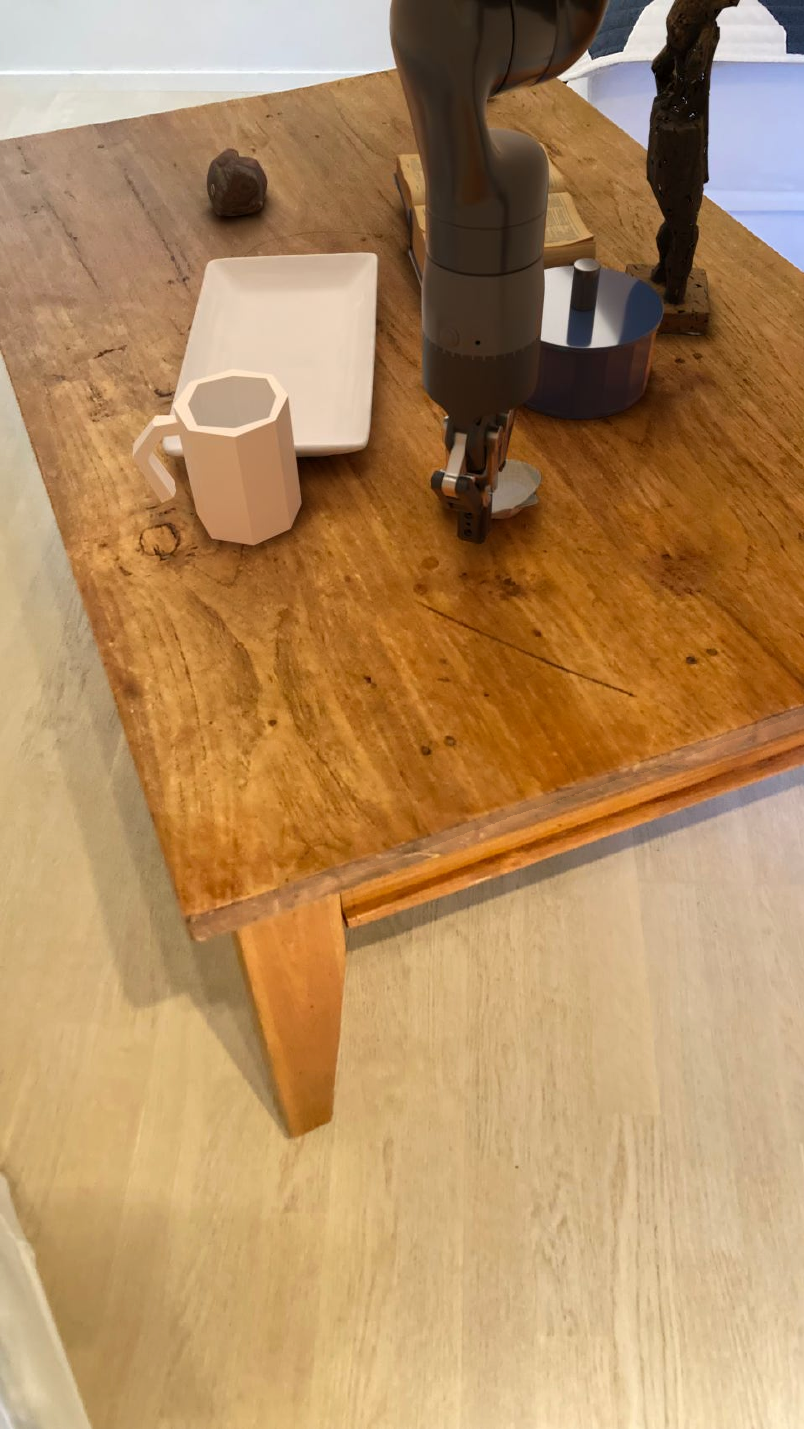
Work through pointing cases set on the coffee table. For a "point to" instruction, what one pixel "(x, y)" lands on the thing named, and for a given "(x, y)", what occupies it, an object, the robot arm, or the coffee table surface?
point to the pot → (591, 381)
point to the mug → (230, 455)
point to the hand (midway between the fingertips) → (473, 536)
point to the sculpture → (681, 160)
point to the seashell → (515, 489)
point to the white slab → (293, 340)
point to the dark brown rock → (236, 184)
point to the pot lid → (597, 309)
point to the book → (562, 222)
